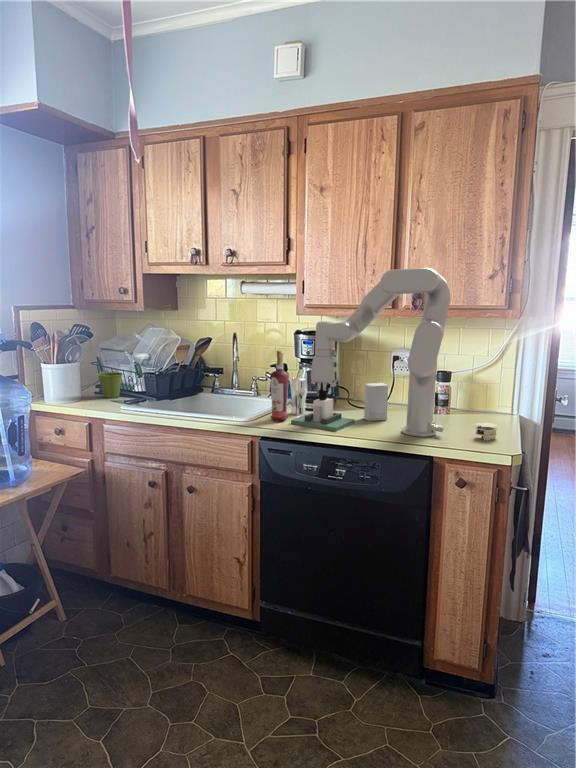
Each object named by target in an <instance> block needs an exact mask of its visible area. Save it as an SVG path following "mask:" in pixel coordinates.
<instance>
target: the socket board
mask: <svg viewBox="0 0 576 768" xmlns="http://www.w3.org/2000/svg"><path fill="white" fill-rule="evenodd" d="M342 416H343V415H342V413H338V412H333V416H331V417H328V418H322V422H314V421H313V412H309V413H307V414H304V415H300V416H299V417H295V418H293V419H291V420H290V425H291V424H292V425H296V426H302V427H306V428H307V427H309V428H314V429H319V430H325V431H331V432H338V430H339V431H340V429H341V430H343V429H345V428H348V427H349V426H351V425H353V424H355V423H356V422H355V421H356V419H354V418H348V417H342ZM344 427H345V428H344Z"/></svg>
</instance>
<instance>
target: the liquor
mask: <svg viewBox="0 0 576 768" xmlns="http://www.w3.org/2000/svg"><path fill="white" fill-rule="evenodd" d="M283 359H284V351H283V350H277V351H276V366H275V367H276V369H275V370H274V371H272V372H271V373H270V390H271V391H270V395H271V396H270V397H271V415H270V418H271V419H272V420H273V421H274V422H285V420H287V418H288V415H287V414H288V412H287V411H288V396H289V395H288V392H289V380H290V379H289V378H290V374H289V372H287V371H285V370H284V360H283Z"/></svg>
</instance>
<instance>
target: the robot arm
mask: <svg viewBox="0 0 576 768" xmlns="http://www.w3.org/2000/svg"><path fill="white" fill-rule="evenodd" d="M403 294H404V295H405V294H406V295H407V294H408V295H409V294H424V295H425V301H424V302H425V303H424V306H423V311H422V315H421V319H420V322H419V324H418V325H417V327H416V328H415V331H414V335H413V338H412V341H411V346H410V350H409V354H408V359H407V369H408V371H409V377H408V378H409V379H408V390H407V391H408V392H407V404H406V405H407V409H406V425H405V426H402V428H401V432H402V433H403V434H405V435H407V436H408V435H409V436H413V437H420V438H421V437H422V438H423V437H434V436H436V435H437V432H438V433H443V432H444V430H445V429H444V426H442V425H437V424H436V421H435V420H434V410H435V409H434V406H435V393H436V383H437V381H436V379H437V371H438V357H439V353H440V349H441V345H442V340H443V338H444V335H445V327H446V323H447V319H448V318H447V317H448V314H449V313H448V312H449V310H450V305H451V289H450V286H449V284H448V282H447V280H446V279H445V278H444V277H443V276H442V275H441V274H440V273H439V272H438V271H436V270H435V269H433V268H430V267H421V268H420V267H417V268H403V269H402V268H401V269H390V270H389V269H388V270H387V271H385V272H384V273H383V275H382V276H381V278H380V280H379V281H378V283H377V284H376V285H375V286H374V287H372V289H371V290H370V291H369V292H368V293H367V294H366V295H365V296H363V298H362V299H361V301H360V303H359V306H358V307H357V309H355V311H354V312H353V313H352V314H351V315H350V316H349V317H348V318H347V319H346V320H345V321H342V322H333V321H322V320H321V321H318V322H317V323H316V326H315V344H314V345H315V346H314V347H315V348H314V350H315V351H314V355H313V359H312V362H311V369H310V380H311V381H310V383H311V384H312V385H314V386H316V387H317V390H318V399H319V400H326V399H327V398H328V393H329V392H328V391H329V390H330V388H335V387H337V382H338V380H339V368H338V366H339V365H338V359H337V357H336V356H337V355H338V351H336V347H335V345H336V342H337V343H338V342H339V343H347V342H350V341H352V340H354V339H356V337H358V336H359V335H360V334H361V332H363V331H364V330H365V329H366V328H367V327H368V325H370V324H371V323H372V321H374V320H375V319H376V318H378V317H379V315H380V314H381V313H382V312H383V311H384V310H385V309H386V308H387V307H388V306H389V305H390V304H392V302H394V301H395V299H397V298H398V297H399V296H400V295H403Z"/></svg>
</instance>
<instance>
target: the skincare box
mask: <svg viewBox="0 0 576 768" xmlns="http://www.w3.org/2000/svg"><path fill="white" fill-rule="evenodd" d="M388 393H389V385H388V384H386V383H384V382H376V383H375V382H374V383H372V382H371V383H365V384H364V406H363V407H364V409H363V410H364V412H363V415H364V416H363V417H364V419H366V420H367V421H368V422H374V421H387V420H388V398H389V397H388V395H389V394H388Z"/></svg>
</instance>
